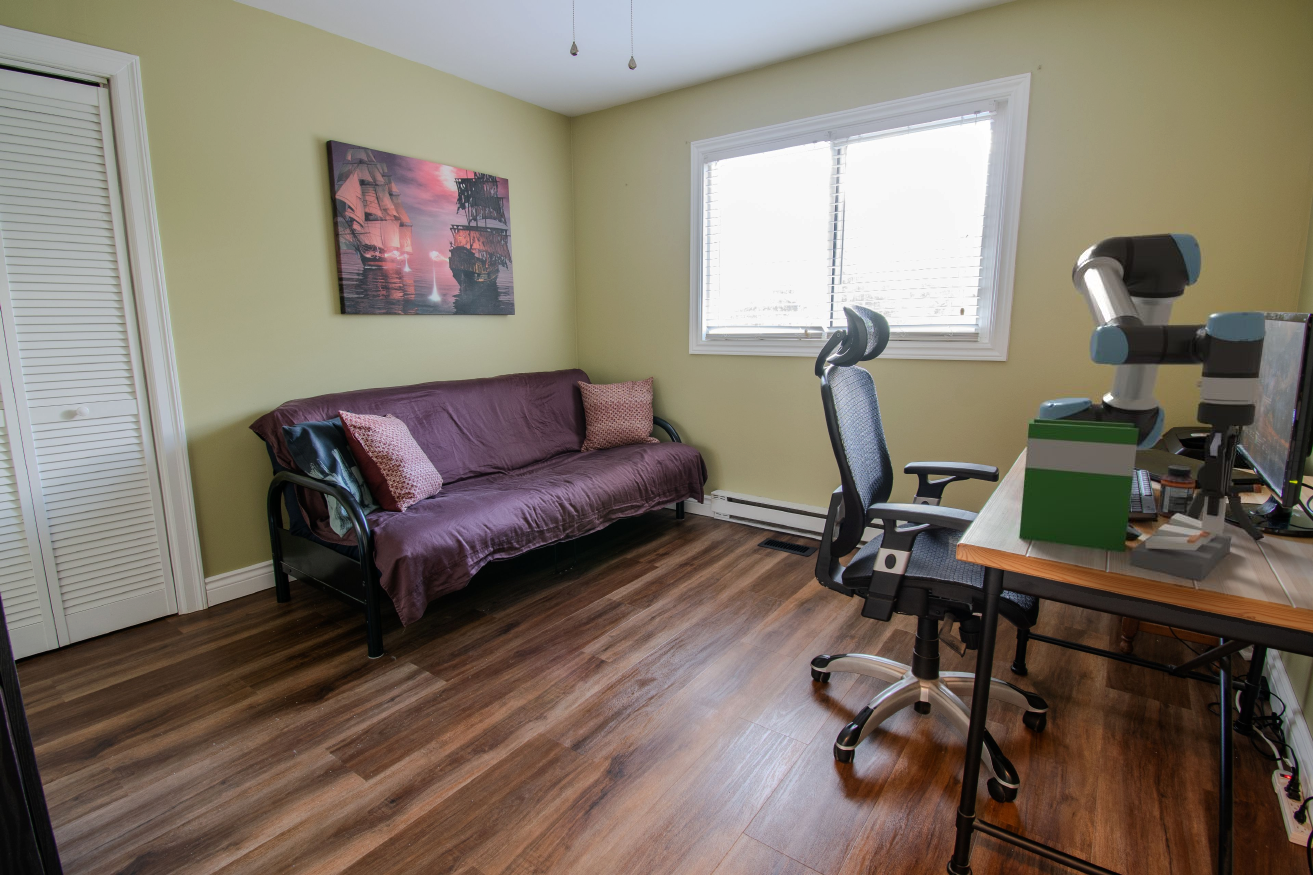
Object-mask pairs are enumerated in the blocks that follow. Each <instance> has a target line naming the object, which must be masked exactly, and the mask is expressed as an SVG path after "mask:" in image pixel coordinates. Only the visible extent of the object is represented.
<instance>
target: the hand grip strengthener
mask: <svg viewBox="0 0 1313 875" xmlns="http://www.w3.org/2000/svg"><path fill="white" fill-rule="evenodd" d="M1204 466H1205V463H1204V464H1201V466H1199V468H1198V469H1197V470H1196V471H1197V472H1196V481H1197V483H1199V485H1200V486H1201V489H1200V490H1197V492H1196V493H1195V494H1194V497H1193V500H1192V502H1191V504H1190V506H1189V509H1188V511H1187V513H1186V516H1188V517H1190V518H1193V519H1196V520H1199V517H1200V515H1201V513H1202V512H1203V510H1204V502H1205V496H1200V493H1201V492H1203V485H1204ZM1230 487H1231V489H1230V490H1229V491H1228V493H1233V496H1232V497H1228V496H1226V497H1227V500H1228V501H1227V502H1228V505H1229V508H1230V511H1231V513H1232V514H1233V516H1234V518H1235V519H1236V522H1238V524H1239V525H1240V527H1241V528H1242V529H1243V530H1244V531H1245V533H1246V534H1248V535H1249V537H1251V538H1252V539H1253V540H1254V541H1256V542H1259V541H1260V540H1262V539H1264V538H1265V536H1264V533H1263V531H1261V530H1260V529H1259V528H1258V527H1257V526H1256V525H1255V524H1254V523H1253V521H1252V520H1251V519H1250V517H1248V514H1247V513H1246V512H1245V510H1244V508H1243V507H1242V497H1241V495H1239V494H1243V493H1249V494H1252V493H1253V494H1262V485H1261V484H1248V485H1247V484H1246V485H1245V484H1242V485H1240V484H1234V482H1233V481H1231V485H1230Z"/></svg>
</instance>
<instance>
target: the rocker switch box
mask: <svg viewBox="0 0 1313 875" xmlns="http://www.w3.org/2000/svg"><path fill="white" fill-rule="evenodd" d="M1166 524H1167V523H1166ZM1167 525H1169V524H1167ZM1178 527H1179V526H1178ZM1157 534H1158V530H1157V531H1155V532H1154V533H1152V534H1151V535H1150V536H1149V537H1147V538H1146V539H1144V540H1143V541H1141V543H1139V544H1138V545H1136V546H1134V547H1133V548H1132V550H1131V557H1130V566H1133V567H1138V568H1142V569H1146V570H1151V571H1155V572H1160V573H1163V574H1168V575H1173V576H1177V577H1181V578H1186V579H1191V580H1195V581H1198V582H1202V581H1203V580H1204V579H1205V577H1207V575H1208V574H1209V573H1210V572H1212V570H1213V569H1214V568H1215V567H1217V565H1218V564H1219V563H1220V562H1221V561H1222V560H1223V559H1224V558H1225V557H1226V555H1228V553H1230V550H1231V544H1232V538H1233V536H1232V535H1229V534H1228V535H1226V534H1223V533H1222V534H1218V535H1217V536H1216V537H1215V538H1214V539H1213V538H1211V540H1210V541H1209V542H1207V543H1206V544H1202V545H1201V546H1200V547H1199V548H1197V549H1196V550H1180V549H1157V548H1146V543H1145V541H1147V540H1148V539H1149V538H1151V537H1152V536H1160V535H1157ZM1163 537H1165V536H1163Z"/></svg>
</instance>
